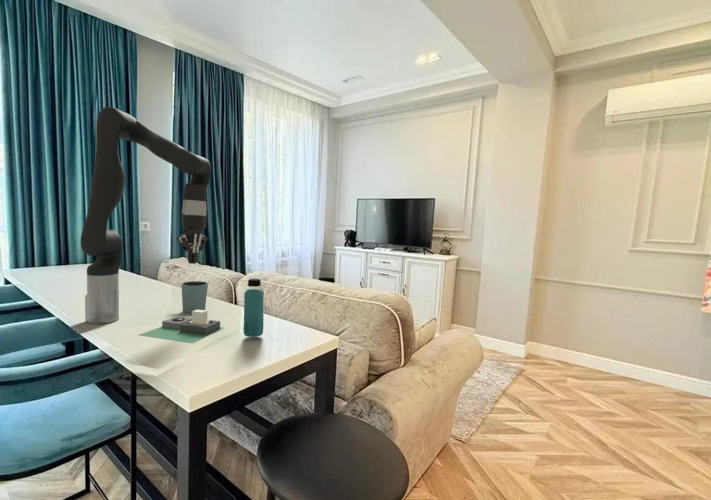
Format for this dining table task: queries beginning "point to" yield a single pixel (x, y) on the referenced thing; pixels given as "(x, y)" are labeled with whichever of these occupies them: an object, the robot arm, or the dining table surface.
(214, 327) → the board
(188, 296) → the grey-green tapered cup
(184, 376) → the dining table surface
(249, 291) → the beverage bottle
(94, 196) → the robot arm
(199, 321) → the plug
